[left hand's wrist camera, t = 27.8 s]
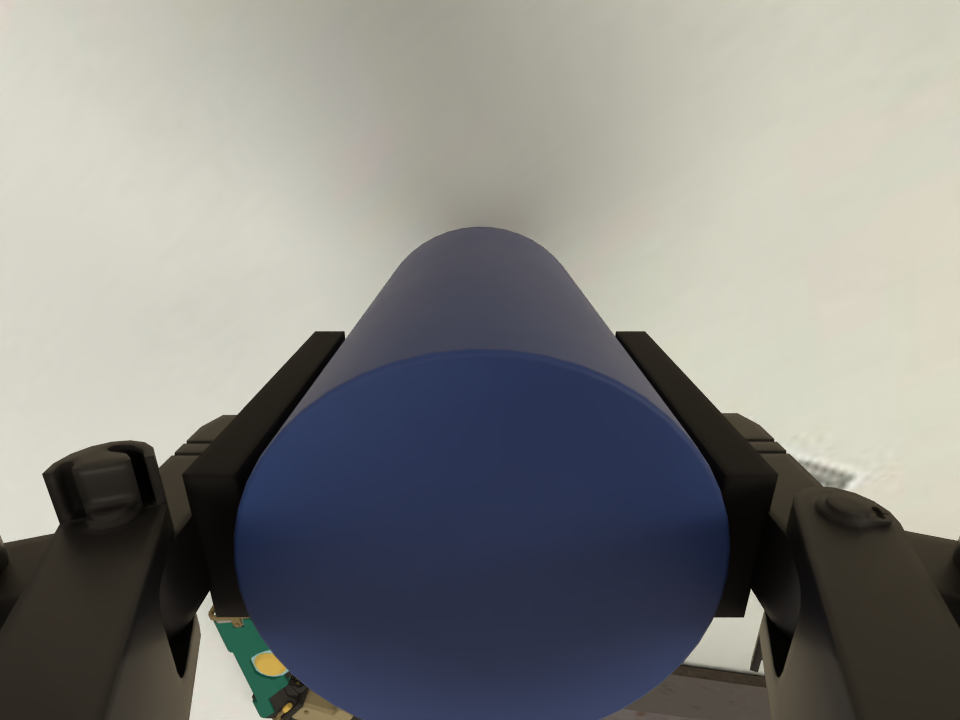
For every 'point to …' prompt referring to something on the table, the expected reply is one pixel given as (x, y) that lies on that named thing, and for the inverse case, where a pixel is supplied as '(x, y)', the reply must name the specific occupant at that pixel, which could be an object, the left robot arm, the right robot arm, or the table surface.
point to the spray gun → (272, 676)
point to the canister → (481, 505)
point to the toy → (701, 698)
